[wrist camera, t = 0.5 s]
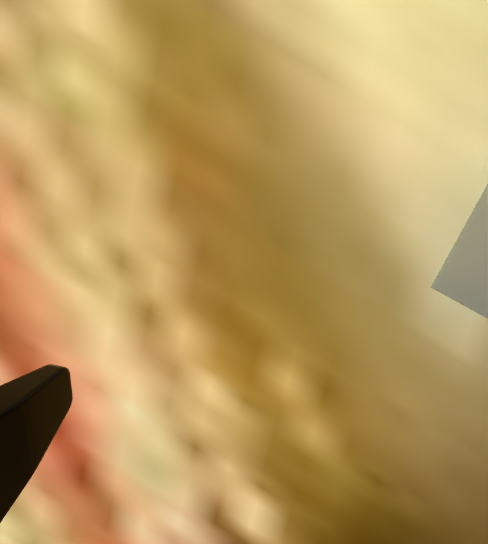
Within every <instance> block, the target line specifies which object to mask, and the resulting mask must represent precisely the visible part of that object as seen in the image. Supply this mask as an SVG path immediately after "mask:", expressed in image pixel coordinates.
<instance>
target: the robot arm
mask: <svg viewBox="0 0 488 544" xmlns="http://www.w3.org/2000/svg"><path fill="white" fill-rule="evenodd" d="M71 403H72V387H71V379H70V372H69V370H68V369H67V368H66V367H62V366H57V365H53V364H50V365H46V366H44V367H41V368H39V369H37V370H35V371H32V372H30V373H28V374H26V375H23V376H21V377H19V378H16V379H14V380H12V381H10V382H7V383H5V384H3V385H1V386H0V523H1V521H2V520H3V518H4V517H5V515H6V514H7V512H8V511H9V509H10V508H11V506H12V505H13V503H14V502H15V500H16V499H17V498H18V496H19V495H20V493H21V492H22V490H23V489H24V487H25V486H26V484H27V483H28V481H29V480H30V478H31V477H32V475H33V474H34V472H35V470H36V469H37V467H38V465H39V463H40V462H41V460H42V458H43V456H44V454H45V452H46V451H47V449H48V447H49V445H50V443H51V442H52V440H53V438H54V436H55V434H56V432H57V431H58V429H59V427H60V425H61V423H62V421H63V420H64V418H65V416H66V414H67V412H68V410H69V409H70V406H71Z"/></svg>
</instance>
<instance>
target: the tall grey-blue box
mask: <svg viewBox="0 0 488 544" xmlns="http://www.w3.org/2000/svg"><path fill="white" fill-rule="evenodd" d="M431 288H433V289H435V290H437V291H438V292H440V293H442V294H444V295H446V296H448V297H449V298H451V299H453V300H455V301H457V302H459V303H460V304H462V305H464V306H466V307H468V308H470V309H471V310H473V311H475V312H477V313H479V314H480V315H482V316H484V317H486V318H488V185H487V186H486V188H485V190H484V192H483V194H482V195H481V197H480V199H479V201H478V203H477V204H476V206H475V208H474V210H473V212H472V213H471V215H470V217H469V219H468V221H467V222H466V224H465V226H464V228H463V230H462V232H461V233H460V235H459V237H458V239H457V241H456V242H455V244H454V246H453V248H452V250H451V251H450V253H449V255H448V257H447V259H446V260H445V262H444V264H443V266H442V268H441V270H440V271H439V273H438V275H437V277H436V279H435V280H434V282H433V284H432V286H431Z"/></svg>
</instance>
